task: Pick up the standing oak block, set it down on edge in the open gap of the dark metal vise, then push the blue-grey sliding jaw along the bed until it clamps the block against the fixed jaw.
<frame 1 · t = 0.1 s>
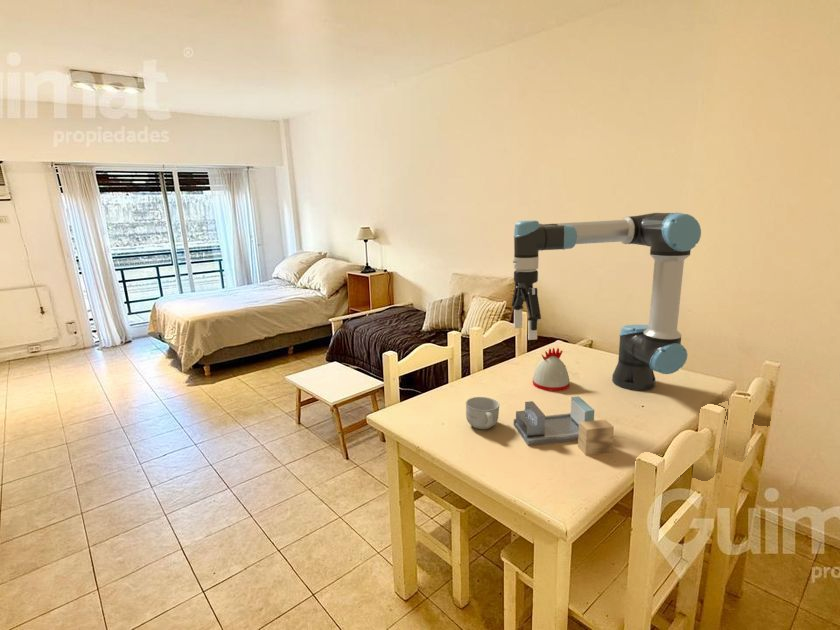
hand: (525, 333, 145), 28 cm above the table, fingers open, 13 cm apart
vise bed: (557, 430, 137), on the table
fixed jaw: (534, 433, 136), resting on vise bed
teacup: (483, 427, 141), on the table
oak block: (594, 449, 126), on the table
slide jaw: (581, 413, 137), point 5 cm above the table, slide at 0.0 cm
white and red dome: (550, 384, 172), on the table
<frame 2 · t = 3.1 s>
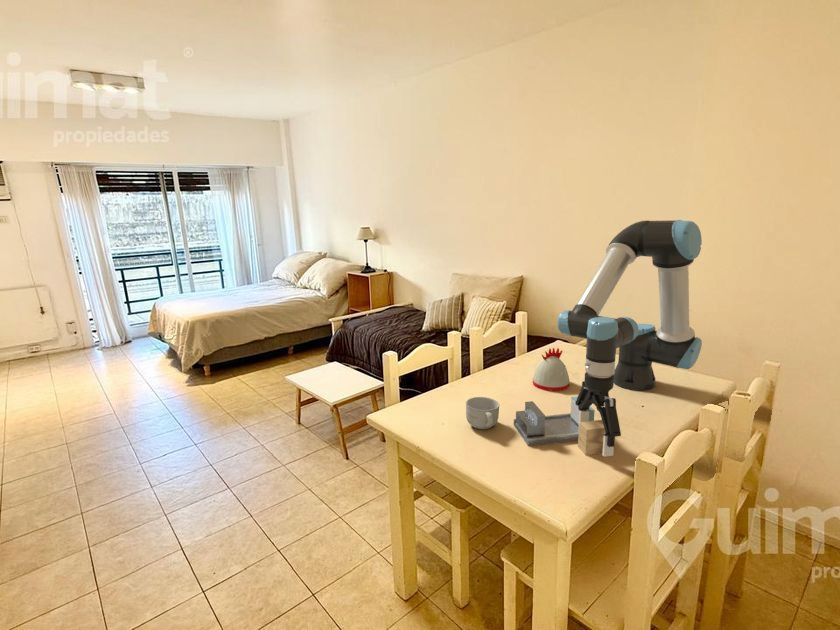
hand: (594, 442, 125), 2 cm above the table, fingers open, 13 cm apart
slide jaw: (581, 413, 137), point 5 cm above the table, slide at 0.0 cm, touching gripper
everything else where it was.
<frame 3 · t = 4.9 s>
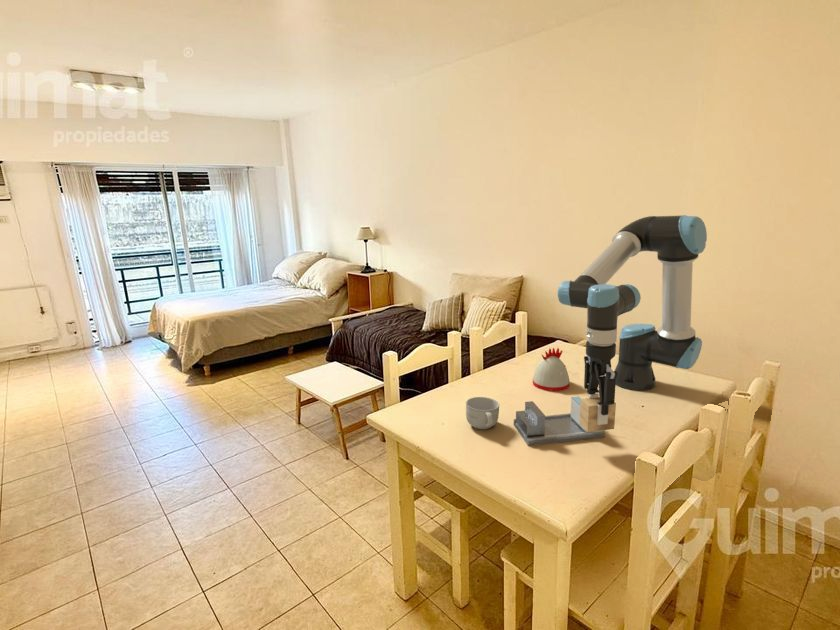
hand: (597, 419, 124), 9 cm above the table, fingers closed on oak block, 4 cm apart
oak block: (596, 426, 125), point 7 cm above the table, touching gripper
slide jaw: (581, 413, 137), point 5 cm above the table, slide at 0.0 cm
everything else where it was.
when the fingers open (3 cm above the table, at t = 9.3 s): oak block stays where it is, resting on vise bed.
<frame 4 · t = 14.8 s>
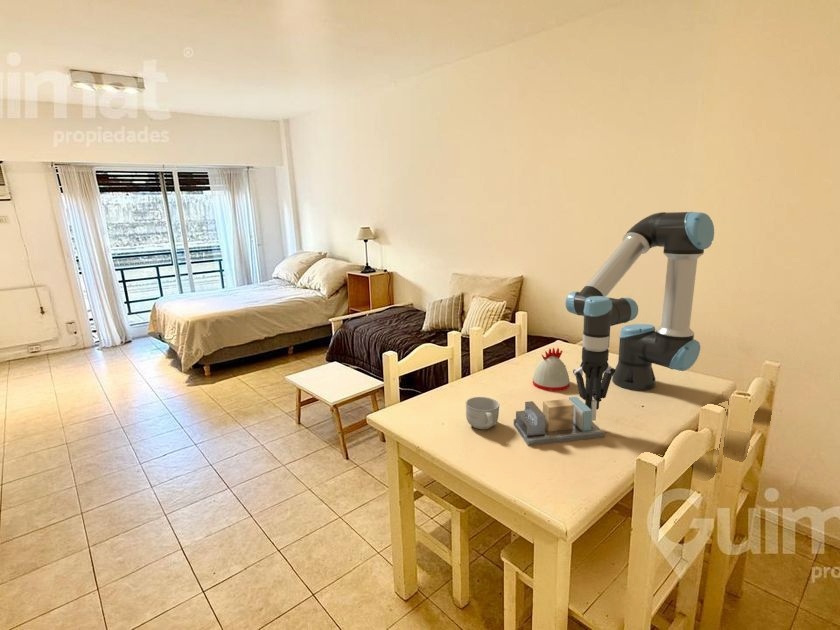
hand: (591, 418, 137), 3 cm above the table, fingers closed
oak block: (557, 426, 137), point 1 cm above the table, touching vise bed
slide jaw: (579, 413, 136), point 5 cm above the table, slide at 0.8 cm, touching gripper
everything else where it was.
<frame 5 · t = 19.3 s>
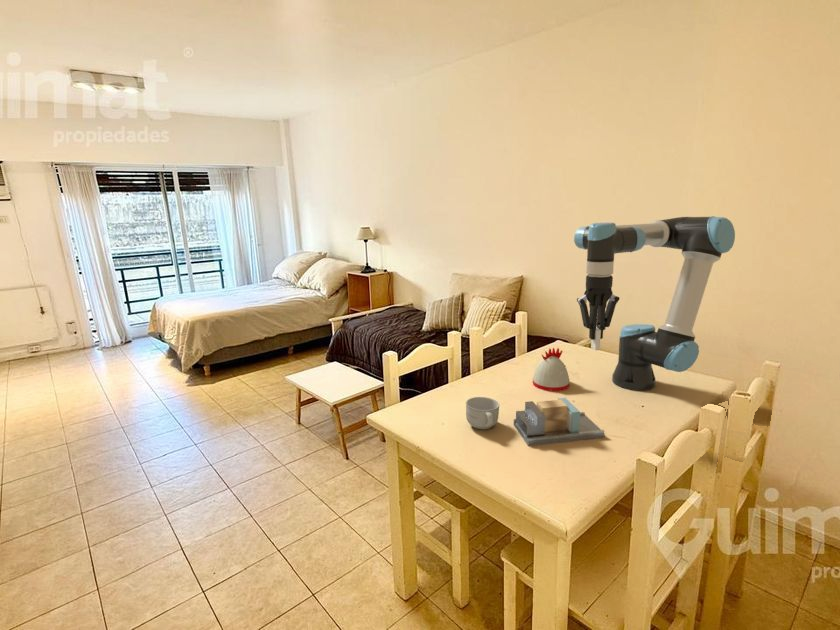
hand: (595, 348, 137), 24 cm above the table, fingers closed
oak block: (551, 427, 136), point 1 cm above the table, touching vise bed
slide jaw: (567, 415, 136), point 5 cm above the table, slide at 4.5 cm
everything else where it was.
at the end: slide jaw slide at 4.5 cm; oak block 0.4 cm from the target spot on the table beside the fixed jaw, point 1.5 cm above the table; oak block tilted 0° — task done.
